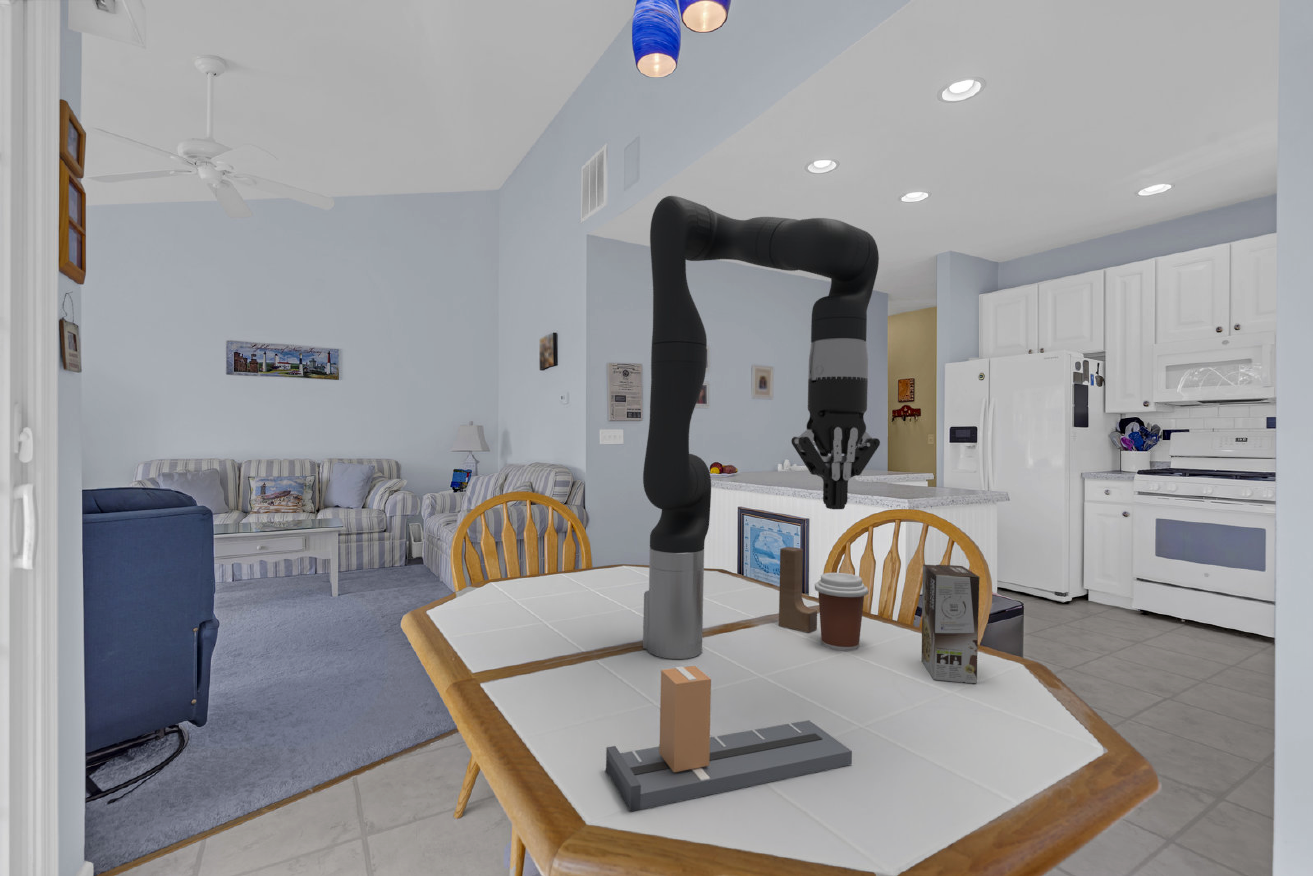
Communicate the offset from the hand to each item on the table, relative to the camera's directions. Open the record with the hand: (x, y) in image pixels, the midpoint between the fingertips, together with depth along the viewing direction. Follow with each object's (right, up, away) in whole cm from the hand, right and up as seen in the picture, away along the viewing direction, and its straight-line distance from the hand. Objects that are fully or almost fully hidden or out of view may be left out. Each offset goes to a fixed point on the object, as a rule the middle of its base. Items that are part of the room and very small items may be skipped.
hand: (834, 508), depth 82 cm
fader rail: (-15, -27, -14) cm, 34 cm away
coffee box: (+22, -28, +16) cm, 39 cm away
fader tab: (-21, -25, -16) cm, 36 cm away
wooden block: (+4, -27, +38) cm, 46 cm away
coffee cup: (+9, -27, +28) cm, 40 cm away
